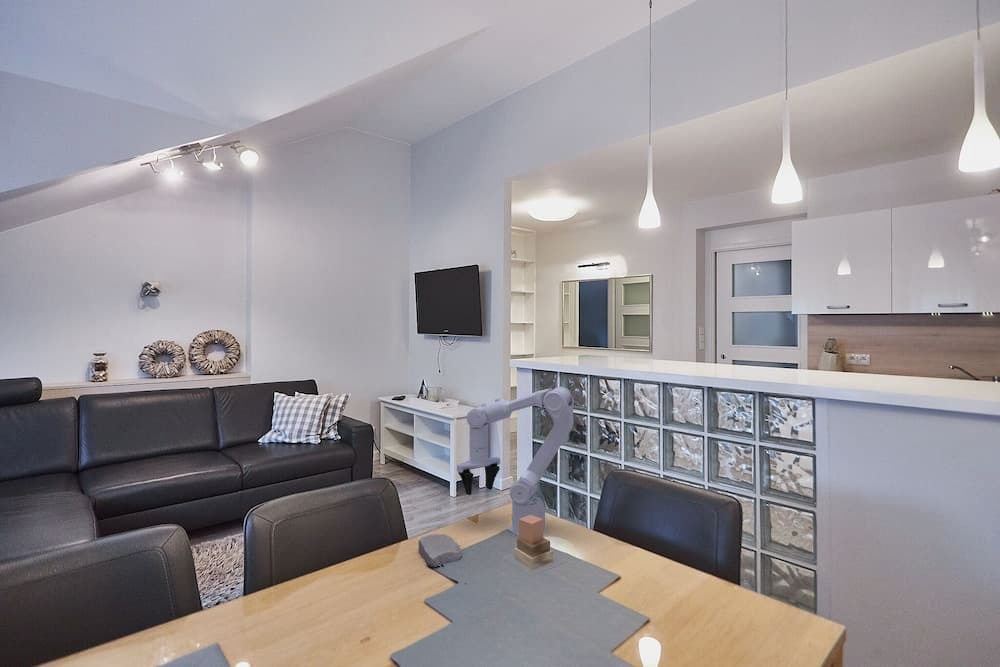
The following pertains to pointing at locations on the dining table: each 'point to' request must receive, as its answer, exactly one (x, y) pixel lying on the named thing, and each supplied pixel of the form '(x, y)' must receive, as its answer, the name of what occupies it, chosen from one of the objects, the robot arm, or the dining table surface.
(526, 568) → the felt mat
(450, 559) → the stone block
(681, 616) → the dining table surface
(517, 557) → the beech slab
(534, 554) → the walnut slab
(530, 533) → the terracotta block
